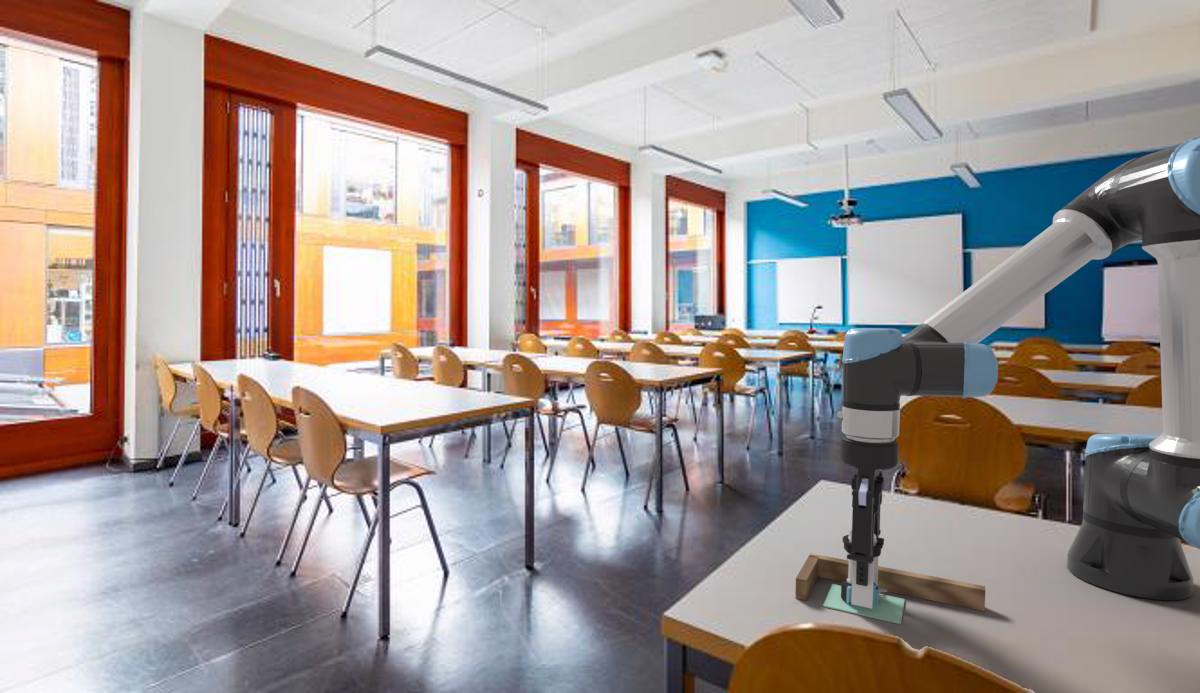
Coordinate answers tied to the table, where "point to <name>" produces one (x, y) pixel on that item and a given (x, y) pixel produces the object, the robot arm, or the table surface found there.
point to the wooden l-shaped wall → (893, 582)
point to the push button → (847, 585)
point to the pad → (884, 610)
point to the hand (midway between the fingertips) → (864, 595)
